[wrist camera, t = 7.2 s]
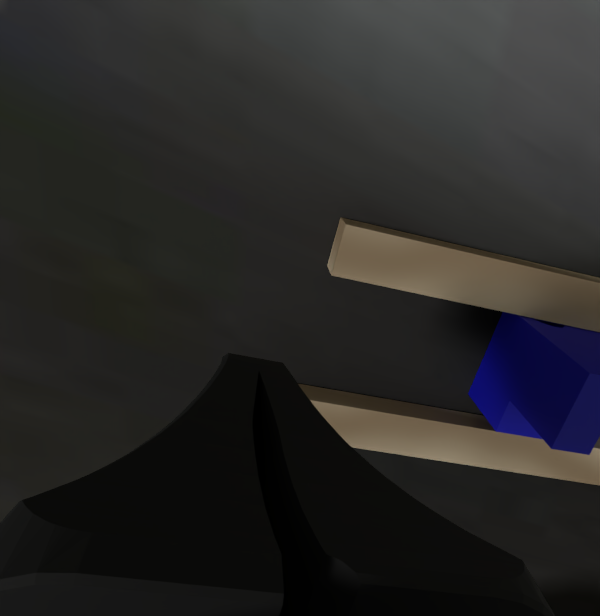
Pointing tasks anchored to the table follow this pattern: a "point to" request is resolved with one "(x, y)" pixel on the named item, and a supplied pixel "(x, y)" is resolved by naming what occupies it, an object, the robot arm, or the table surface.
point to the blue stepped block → (541, 382)
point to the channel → (469, 290)
